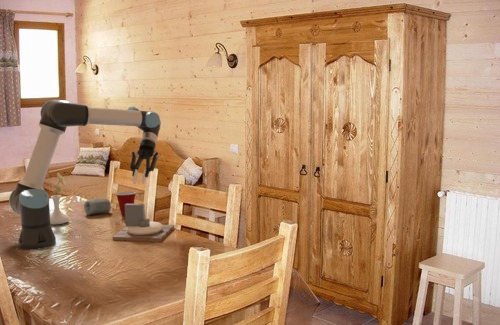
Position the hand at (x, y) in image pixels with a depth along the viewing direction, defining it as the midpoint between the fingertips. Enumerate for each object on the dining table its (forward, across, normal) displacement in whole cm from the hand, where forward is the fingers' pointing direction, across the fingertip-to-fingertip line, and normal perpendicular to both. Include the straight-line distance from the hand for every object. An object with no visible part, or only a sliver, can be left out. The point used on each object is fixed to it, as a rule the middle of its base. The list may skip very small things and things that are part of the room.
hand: (138, 182), depth 259 cm
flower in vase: (+13, +44, -18) cm, 49 cm away
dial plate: (+23, -6, -8) cm, 25 cm away
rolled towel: (-1, +32, -33) cm, 45 cm away
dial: (+22, -5, -7) cm, 23 cm away
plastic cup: (-1, +16, -33) cm, 36 cm away
